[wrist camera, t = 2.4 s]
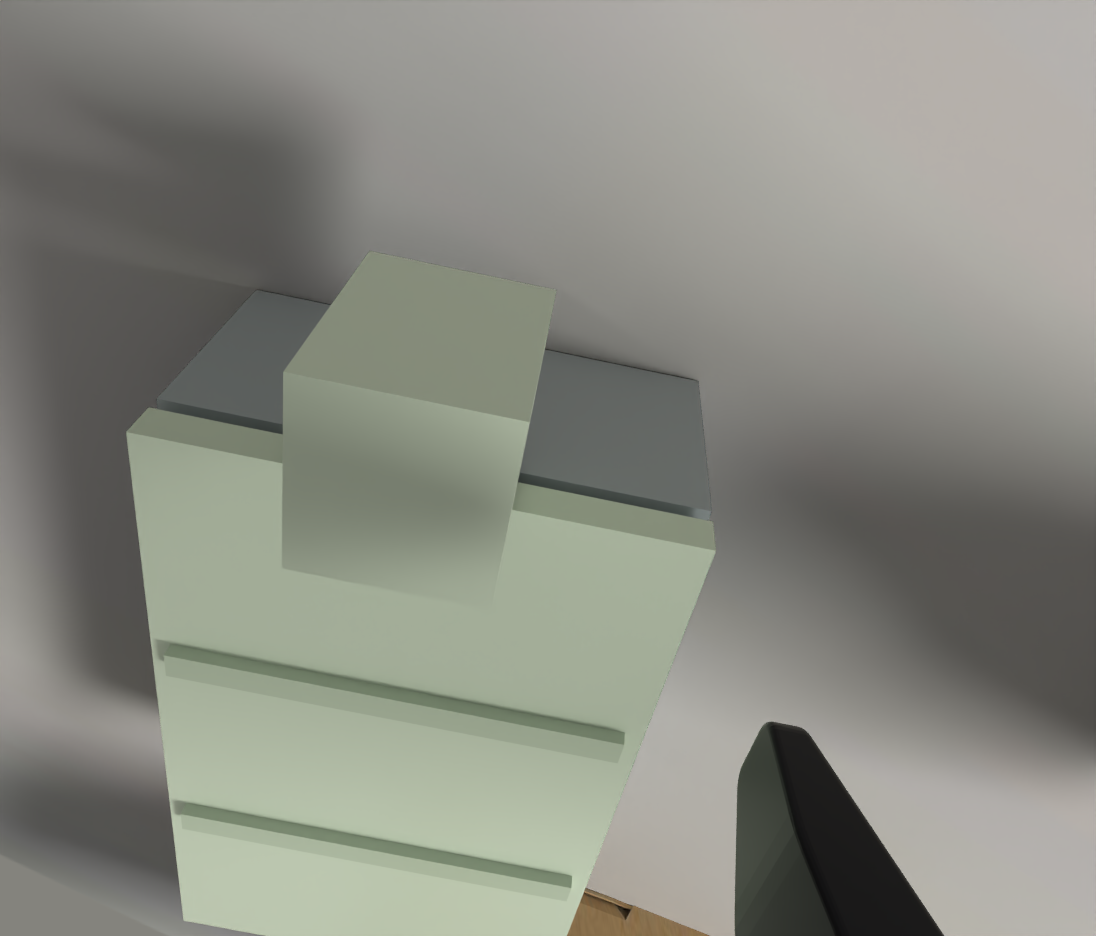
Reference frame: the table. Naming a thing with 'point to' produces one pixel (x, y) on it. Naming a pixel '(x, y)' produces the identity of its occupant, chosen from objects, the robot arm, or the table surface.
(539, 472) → the tub
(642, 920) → the sandwich container
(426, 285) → the lid
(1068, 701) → the table surface
